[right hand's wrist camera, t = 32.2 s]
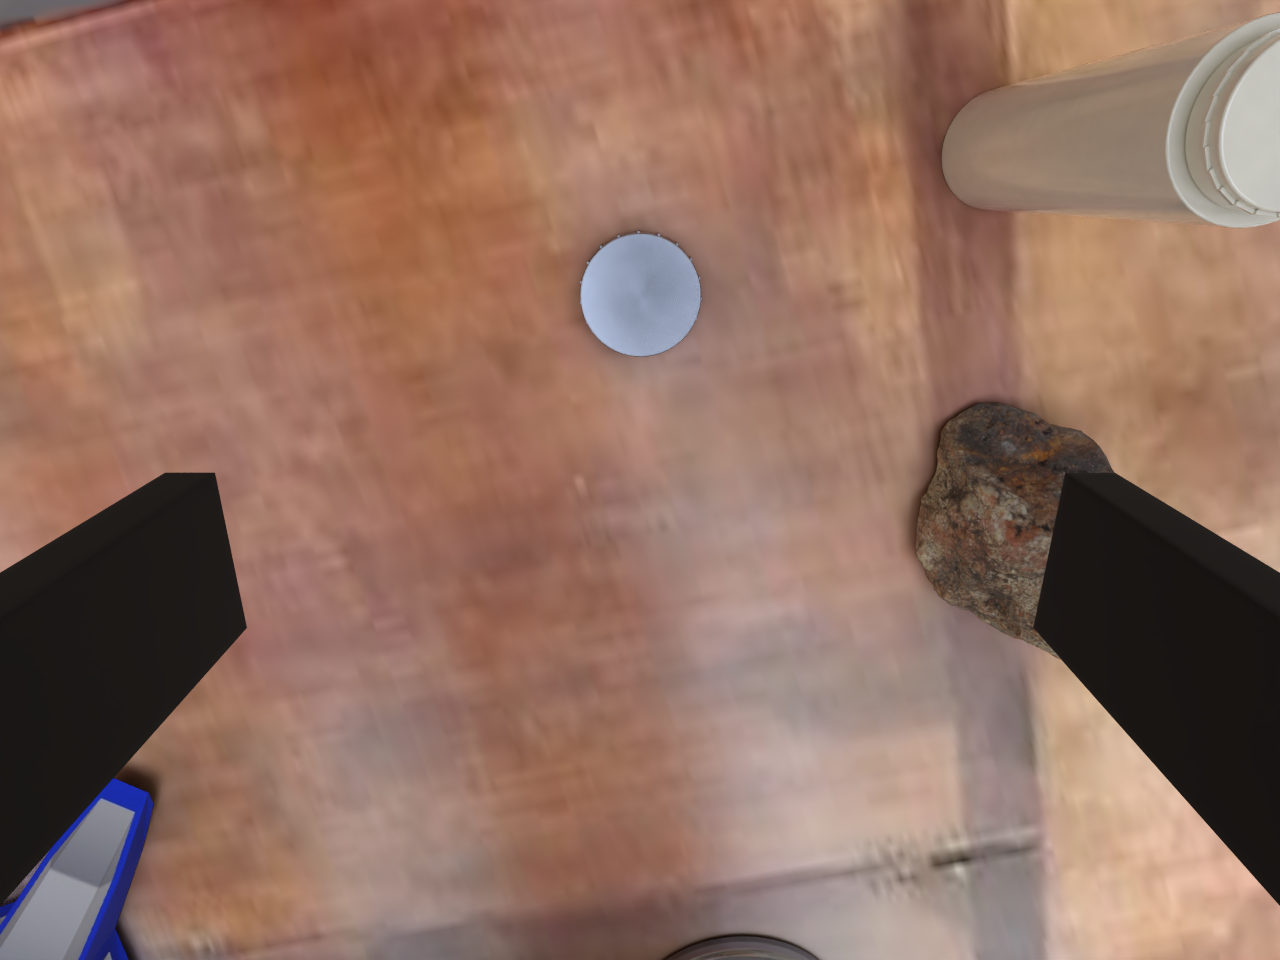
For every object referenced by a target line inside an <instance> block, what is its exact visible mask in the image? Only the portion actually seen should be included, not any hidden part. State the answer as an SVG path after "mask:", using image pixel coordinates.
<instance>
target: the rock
mask: <svg viewBox="0 0 1280 960" xmlns="http://www.w3.org/2000/svg"><path fill="white" fill-rule="evenodd" d="M937 459H938V465H937V470H936V473H935V475H934V477H933V479H932V481H931V483H930V485H929V487H928V491H927V493H926V494H924V495H923V496H922V498H921V506H920V510H919V517H918V524H917V527H916V528H917V541H916V550H917V552H916V555H917V558H918V559H919V560H920V562H921V563H922V565H923V567H924V568H925V569H926V574H927V577H928V579H929V580H930V581H931V582H932V584H933V585H934V590H935V591H936V592H937V594H938V595H939V597H940V598H942V599H943V600H945V601H946V602H947V603H948V604H950V605H955V606H956V607H958V608H961V609H964V610H965V609H968V610H970V611H972V612H974V614H975V615H976V616H977V617H978V618H979V619H980V620H982V621H984V622H986V623H988V624H990V625H991V626H993V627H994V628H996V629H998V630H999V631H1001V632H1003V633H1005V634H1007V635H1009V636H1011V637H1014V638H1017V639H1021V640H1024V641H1026V642H1027V643H1029V644H1032V645H1035V646H1036V647H1038V648H1040V649H1042V650H1044V651H1046V652H1048V653H1050V654H1051V655H1053V656H1054V657H1056V658H1059V659H1060V657H1059V656H1058V655H1057V654H1056V653H1055V652H1054V651H1053V650H1052V648H1051V647H1050V646H1049V645H1048V644H1047V643H1046V642H1045V641H1044V639H1043V638H1042V637H1041V636H1040V635H1039V634H1038V633H1037V632H1036V630H1035V629H1034V628H1033V626H1034V621H1035V617H1036V612H1037V607H1038V602H1039V597H1040V592H1041V587H1042V583H1043V578H1044V573H1045V568H1046V563H1047V558H1048V554H1049V549H1050V544H1051V539H1052V534H1053V529H1054V524H1055V520H1056V515H1057V510H1058V505H1059V500H1060V495H1061V490H1062V486H1063V481H1064V476H1065V473H1114V471H1113V470H1112V468H1111V466H1110V464H1109V462H1108V459H1107V457H1106V455H1105V454H1104V453H1103V451H1102V450H1101V448H1100V447H1099V446H1098V445H1097V444H1096V443H1095V441H1094V440H1092V439H1091V438H1090V437H1088V436H1087V435H1085V434H1084V433H1083V432H1082V431H1079V430H1075V429H1071V428H1065V427H1059V426H1056V425H1049V424H1048V423H1046V422H1045V421H1044V420H1042V419H1041V418H1040V417H1038V416H1037V415H1036V414H1034V413H1031V412H1028V411H1025V410H1021V409H1018V408H1015V407H1012V406H1008V405H1004V404H1000V403H979V404H977V405H975V406H973V407H971V408H969V409H967V410H965V411H964V412H962V413H960V414H959V415H958V416H957V417H955V418H953V419H951V420H949V421H948V423H947V424H946V425H945V426H944V428H943V429H942V431H941V440H940V444H939V448H938V451H937Z"/></svg>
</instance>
